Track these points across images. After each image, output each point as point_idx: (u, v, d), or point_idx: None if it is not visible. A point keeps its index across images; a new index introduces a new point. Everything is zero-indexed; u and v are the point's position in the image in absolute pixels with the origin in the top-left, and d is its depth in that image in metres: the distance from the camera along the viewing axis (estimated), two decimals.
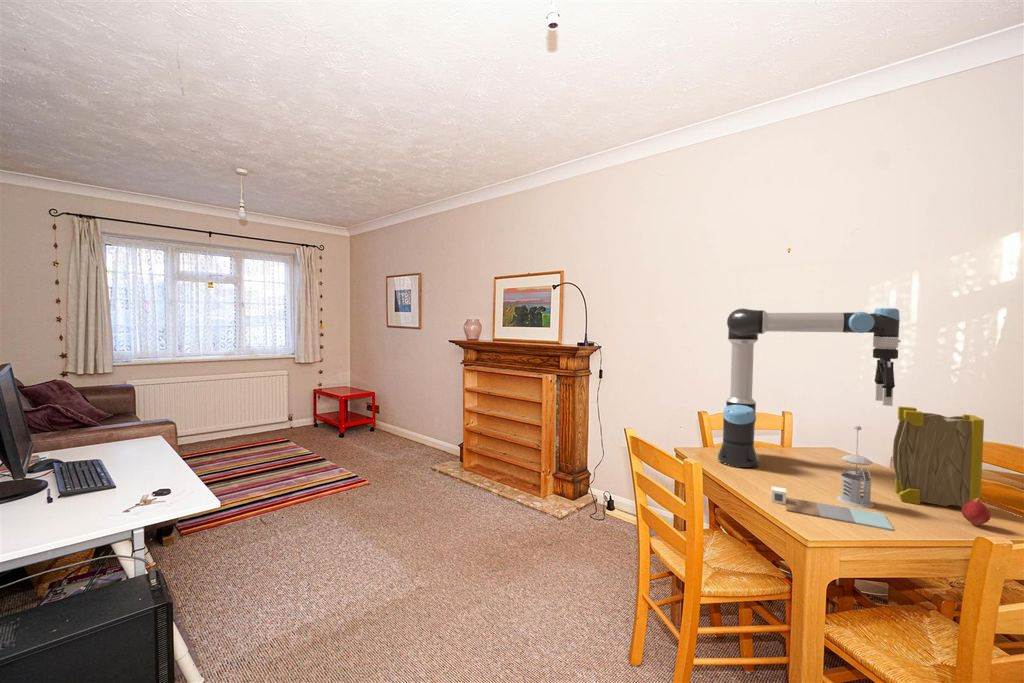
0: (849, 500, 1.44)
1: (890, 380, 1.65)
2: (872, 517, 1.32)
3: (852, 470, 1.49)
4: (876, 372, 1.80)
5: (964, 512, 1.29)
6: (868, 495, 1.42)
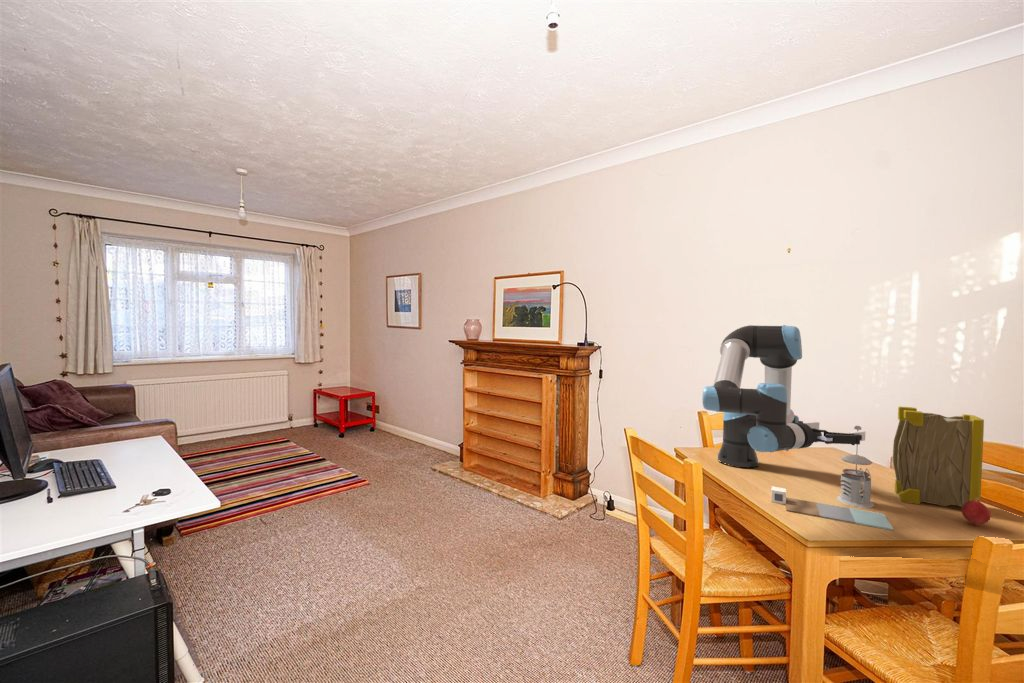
0: (849, 500, 1.44)
1: None
2: (872, 517, 1.32)
3: (852, 470, 1.49)
4: (842, 434, 1.29)
5: (964, 512, 1.29)
6: (868, 495, 1.42)
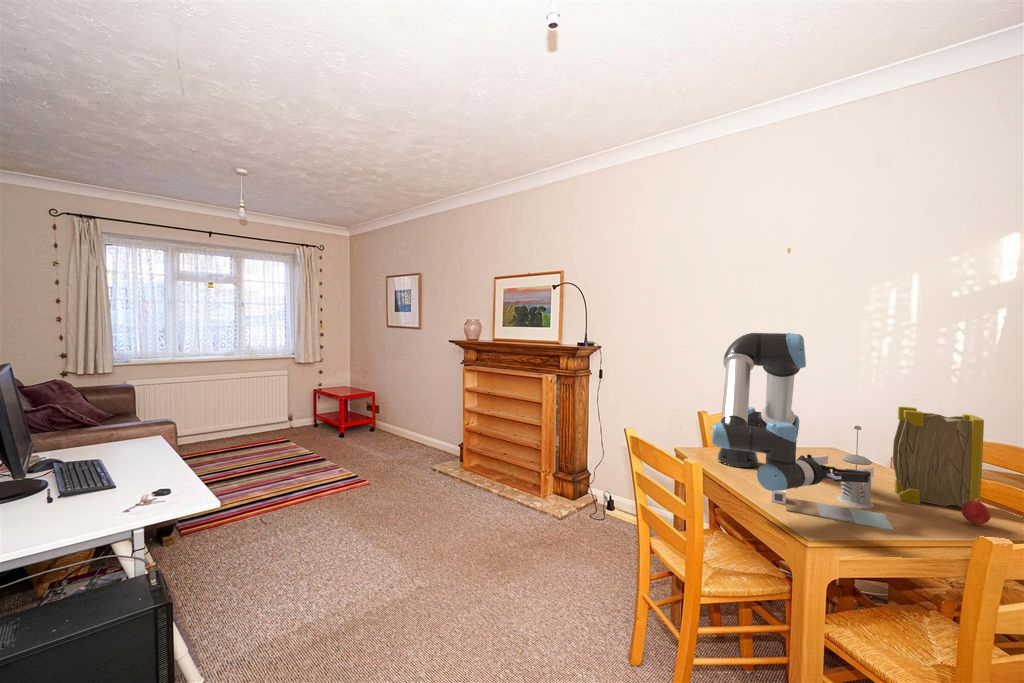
0: (849, 500, 1.44)
1: None
2: (872, 517, 1.32)
3: None
4: (851, 472, 1.31)
5: (964, 512, 1.29)
6: (868, 495, 1.42)
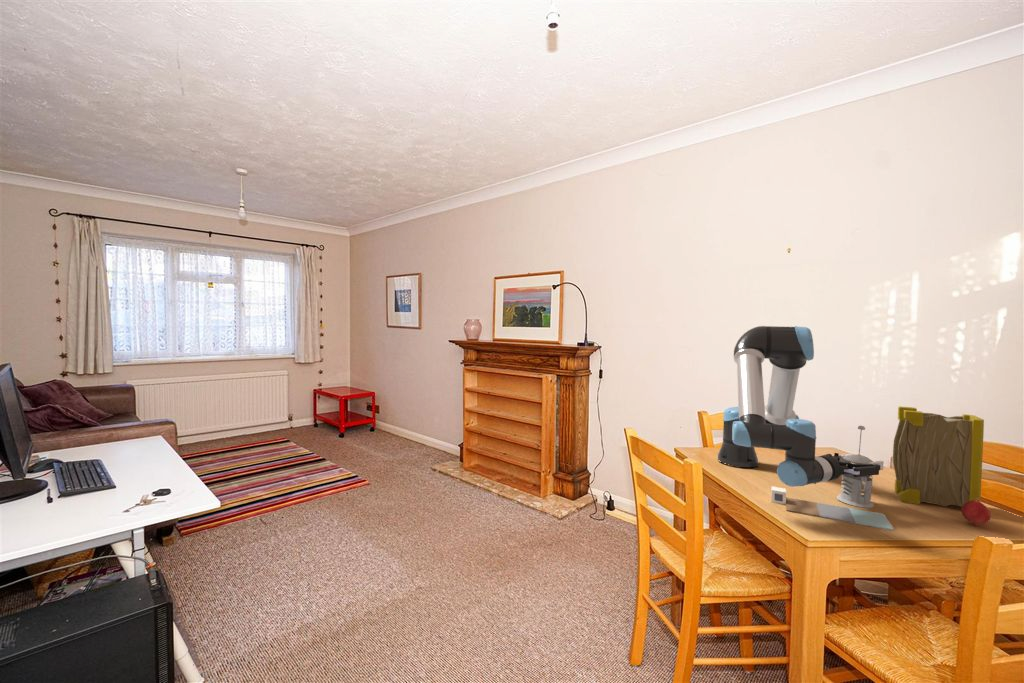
0: (849, 500, 1.44)
1: None
2: (872, 517, 1.32)
3: None
4: (865, 466, 1.36)
5: (964, 512, 1.29)
6: (869, 495, 1.42)
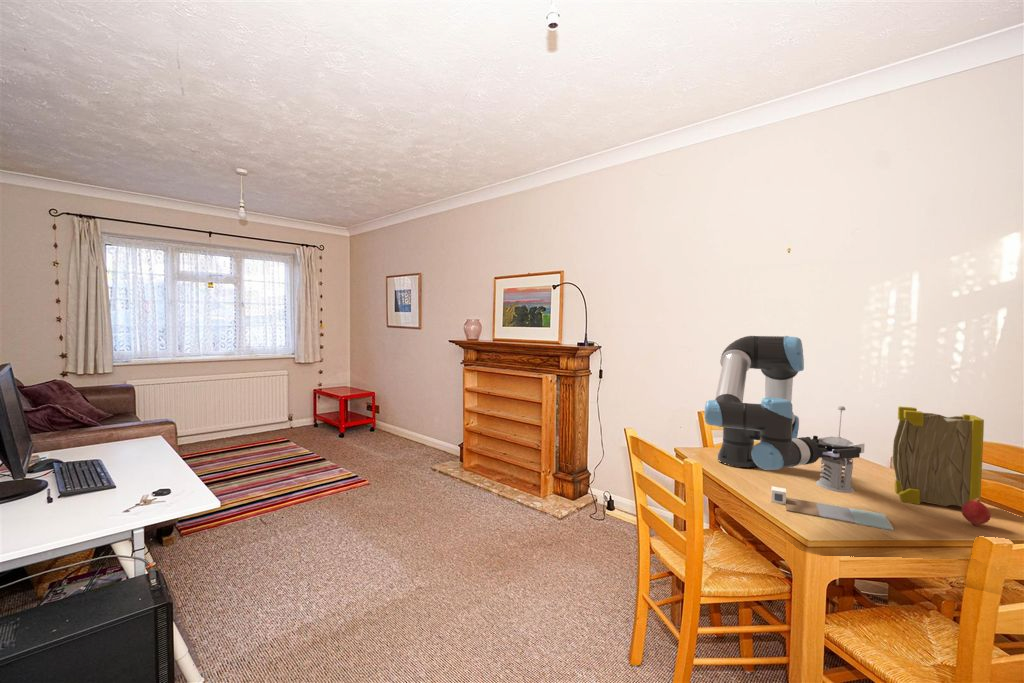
0: (829, 485, 1.35)
1: None
2: (872, 517, 1.32)
3: None
4: (844, 448, 1.27)
5: (964, 512, 1.29)
6: (849, 480, 1.33)
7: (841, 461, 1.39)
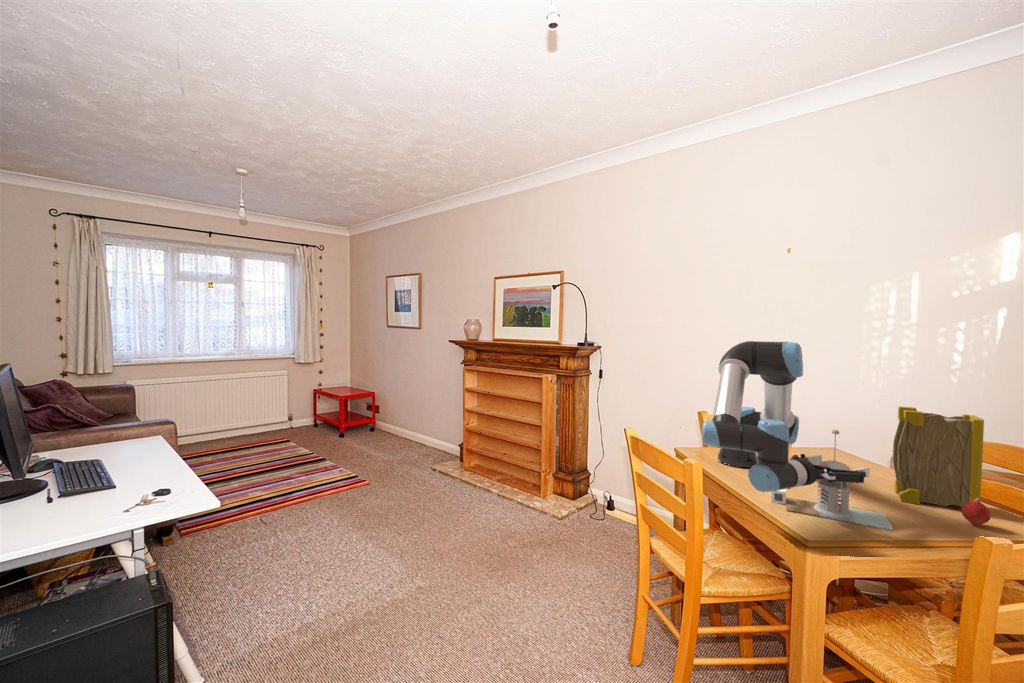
0: (826, 509, 1.35)
1: None
2: (872, 517, 1.32)
3: None
4: (845, 472, 1.26)
5: (964, 512, 1.29)
6: (846, 504, 1.33)
7: (838, 485, 1.39)
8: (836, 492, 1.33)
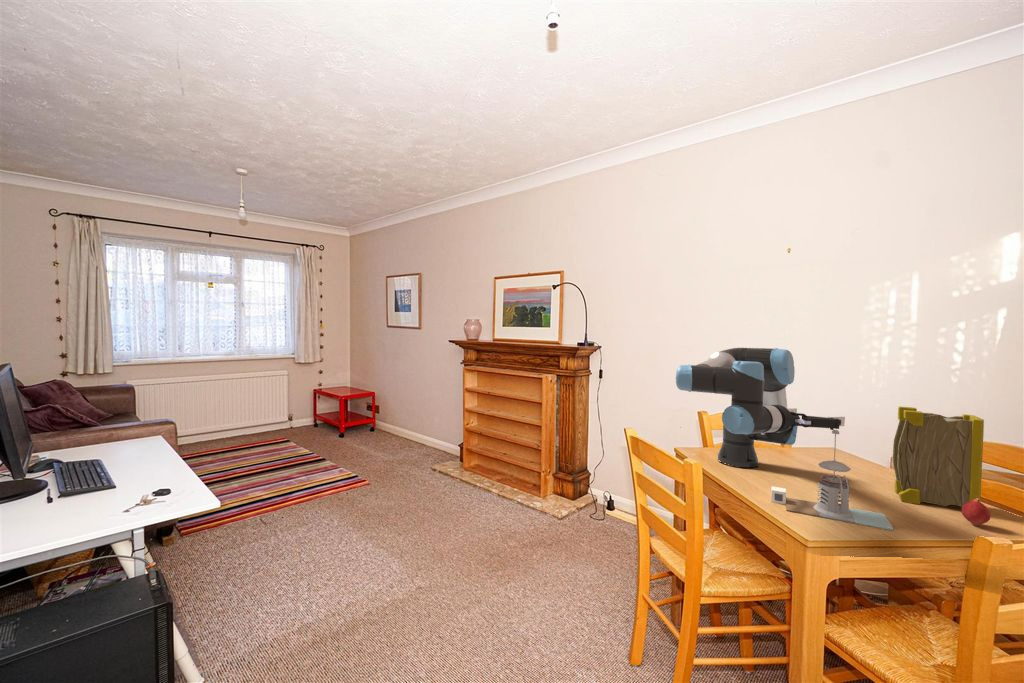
0: (826, 509, 1.35)
1: None
2: (872, 517, 1.32)
3: (830, 477, 1.40)
4: (821, 418, 1.21)
5: (964, 512, 1.29)
6: (846, 504, 1.33)
7: (838, 485, 1.39)
8: (836, 492, 1.33)
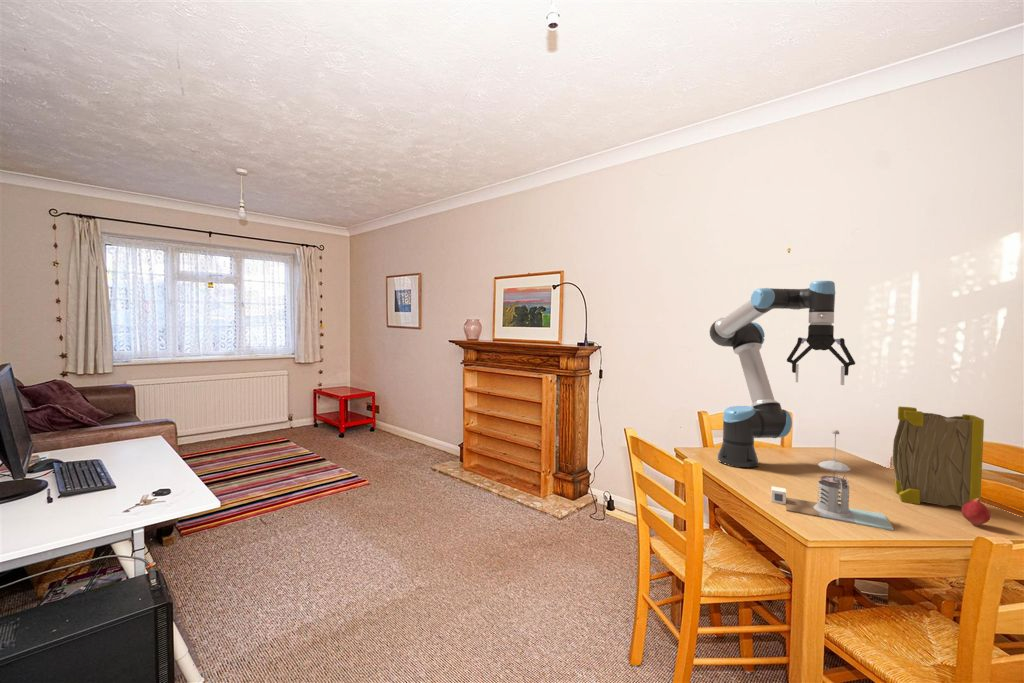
0: (826, 509, 1.35)
1: (789, 355, 1.65)
2: (872, 517, 1.32)
3: (830, 477, 1.40)
4: (844, 352, 1.58)
5: (964, 512, 1.29)
6: (846, 504, 1.33)
7: (838, 485, 1.39)
8: (836, 492, 1.33)
